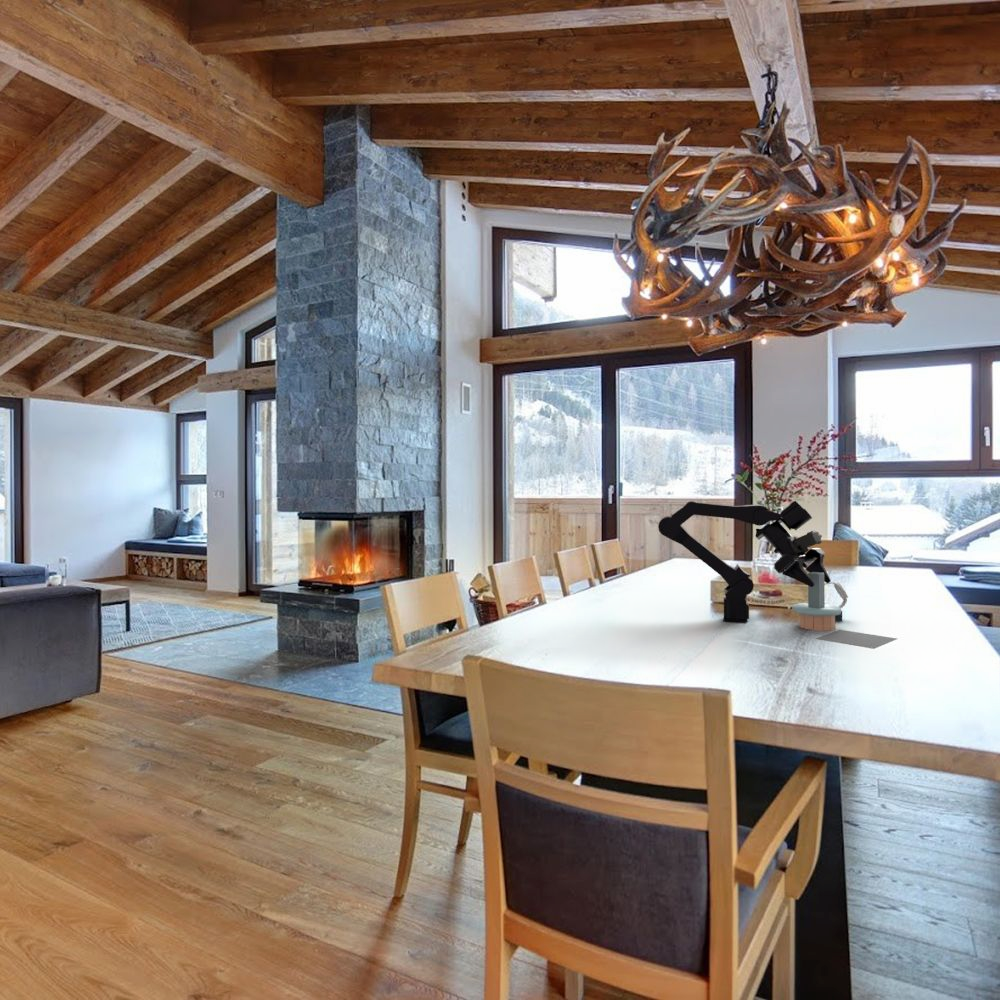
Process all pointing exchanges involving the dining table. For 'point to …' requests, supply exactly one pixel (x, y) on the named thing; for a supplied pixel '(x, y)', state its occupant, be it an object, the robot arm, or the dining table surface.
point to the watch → (843, 596)
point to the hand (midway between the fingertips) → (821, 584)
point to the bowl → (816, 622)
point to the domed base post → (816, 599)
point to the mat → (856, 639)
